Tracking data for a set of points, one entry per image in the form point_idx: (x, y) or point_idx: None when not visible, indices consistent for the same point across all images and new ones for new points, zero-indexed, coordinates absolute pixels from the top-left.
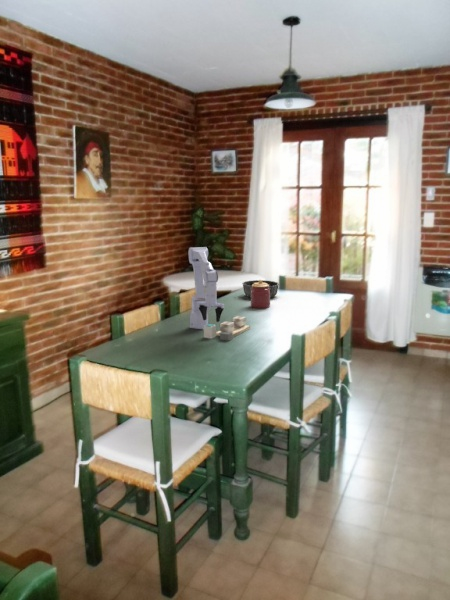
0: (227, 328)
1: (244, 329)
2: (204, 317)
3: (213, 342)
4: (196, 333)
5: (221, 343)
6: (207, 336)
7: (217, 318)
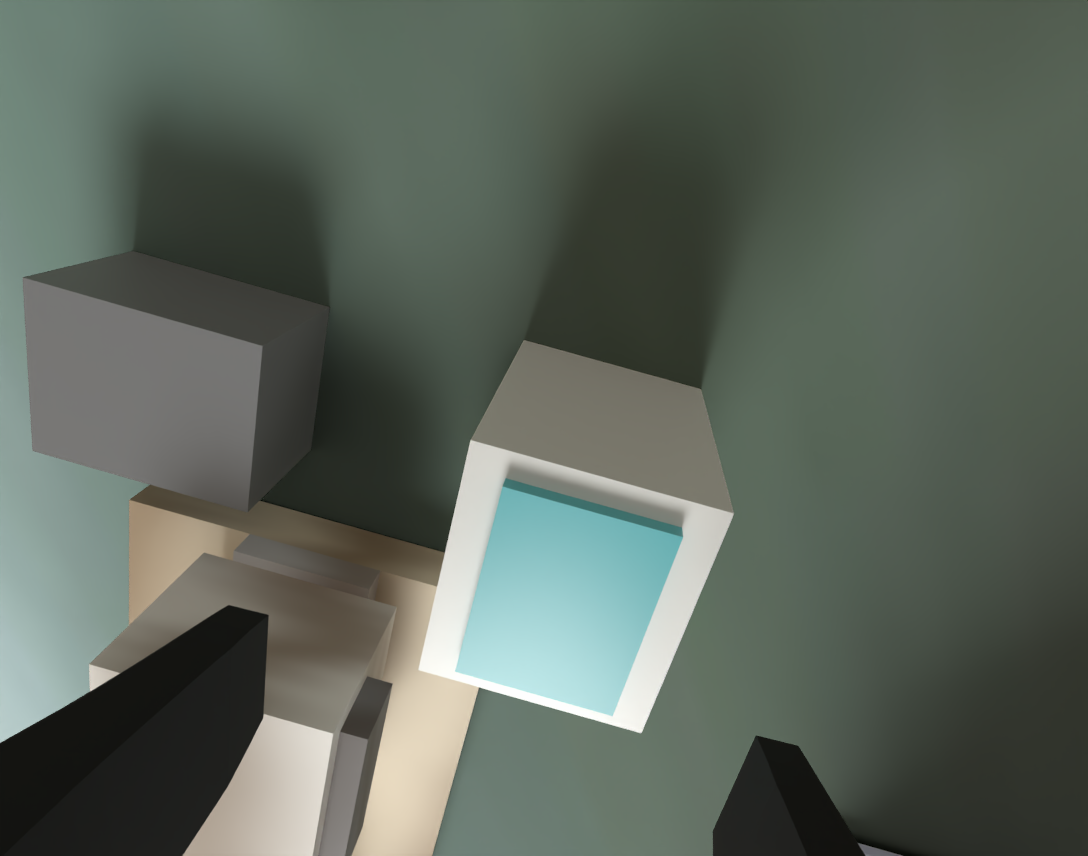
0: (176, 609)
1: None
2: (775, 846)
3: (377, 48)
4: (916, 629)
5: (178, 11)
6: (612, 376)
7: (120, 674)
